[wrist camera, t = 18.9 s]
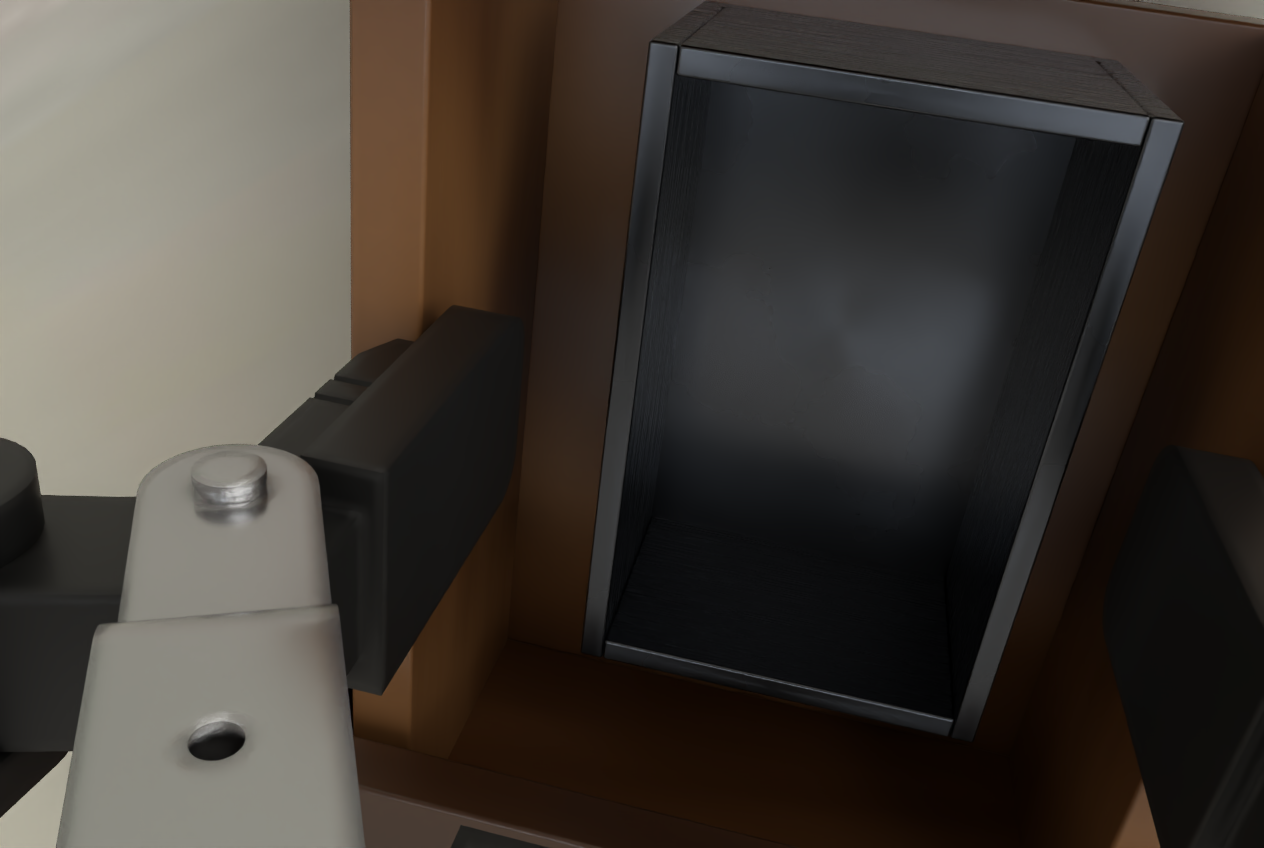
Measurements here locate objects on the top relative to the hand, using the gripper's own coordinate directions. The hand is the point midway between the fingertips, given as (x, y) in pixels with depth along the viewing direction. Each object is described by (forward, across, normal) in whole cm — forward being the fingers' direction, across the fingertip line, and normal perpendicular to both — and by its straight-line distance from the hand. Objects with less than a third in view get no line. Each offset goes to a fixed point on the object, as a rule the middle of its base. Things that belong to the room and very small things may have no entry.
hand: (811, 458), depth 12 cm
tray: (+4, 0, 0) cm, 4 cm away
